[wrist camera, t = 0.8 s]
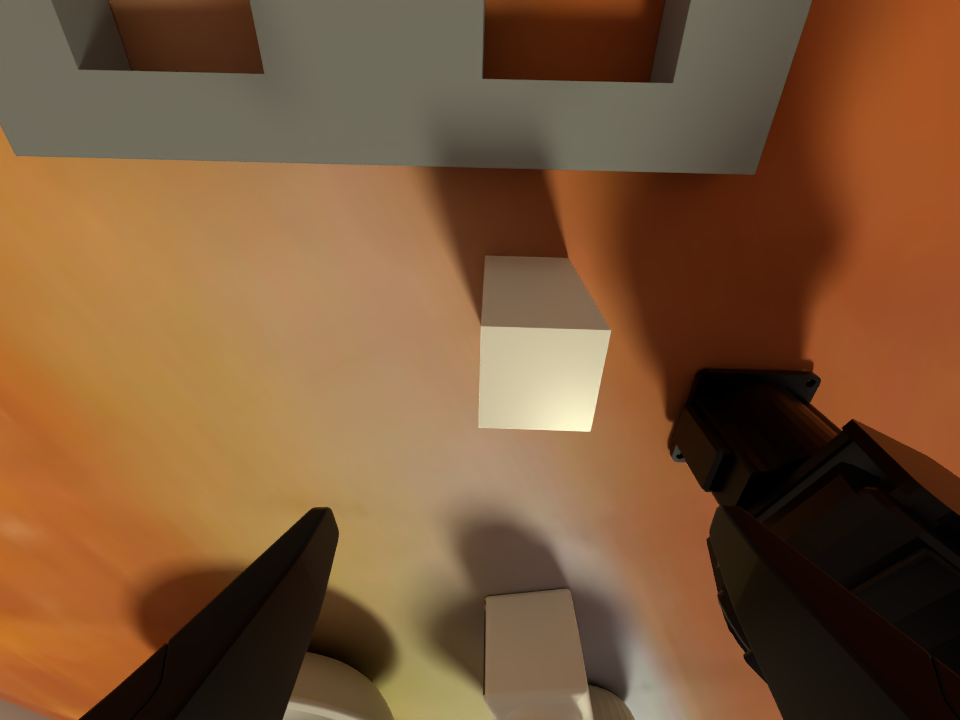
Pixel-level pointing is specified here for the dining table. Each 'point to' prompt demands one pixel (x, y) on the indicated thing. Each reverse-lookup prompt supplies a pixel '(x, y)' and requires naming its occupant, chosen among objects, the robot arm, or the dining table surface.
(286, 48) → the socket board
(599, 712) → the canister
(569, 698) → the medicine bottle
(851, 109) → the dining table surface
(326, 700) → the soup bowl
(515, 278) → the plug
